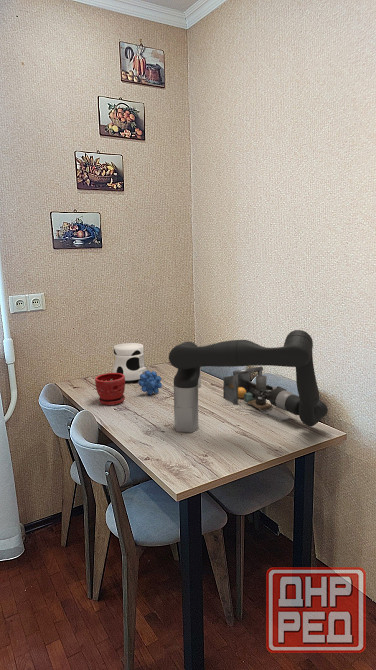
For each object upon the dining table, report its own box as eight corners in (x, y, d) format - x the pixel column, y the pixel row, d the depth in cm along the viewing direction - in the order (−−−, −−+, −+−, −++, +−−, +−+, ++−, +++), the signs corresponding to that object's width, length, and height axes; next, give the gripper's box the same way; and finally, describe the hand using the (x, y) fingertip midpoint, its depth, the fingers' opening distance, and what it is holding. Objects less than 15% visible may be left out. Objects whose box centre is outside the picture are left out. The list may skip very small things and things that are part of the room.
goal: (262, 399, 205) (263, 367, 202) (235, 404, 198) (235, 371, 195) (249, 392, 213) (249, 362, 210) (222, 398, 206) (222, 366, 203)
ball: (240, 400, 208) (246, 400, 204) (231, 395, 207) (237, 394, 202) (243, 390, 210) (250, 390, 206) (235, 385, 208) (241, 384, 204)
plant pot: (112, 395, 212) (111, 370, 210) (131, 401, 204) (130, 375, 202) (90, 402, 203) (88, 377, 200) (109, 409, 194) (108, 382, 192)
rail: (291, 419, 181) (291, 417, 181) (281, 421, 179) (281, 419, 178) (268, 408, 193) (269, 406, 193) (259, 410, 191) (259, 409, 190)
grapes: (142, 399, 206) (141, 374, 204) (137, 395, 212) (136, 370, 210) (165, 395, 211) (165, 370, 209) (160, 391, 217) (159, 367, 215)
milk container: (111, 376, 243) (109, 343, 240) (142, 373, 248) (141, 341, 245) (115, 385, 227) (114, 350, 223) (149, 382, 232) (148, 348, 228)
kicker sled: (272, 407, 192) (272, 378, 189) (260, 409, 189) (261, 380, 186) (254, 398, 202) (255, 371, 199) (244, 401, 199) (244, 373, 197)
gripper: (297, 387, 182) (271, 377, 196) (269, 393, 176) (245, 383, 190) (297, 405, 184) (271, 394, 198) (269, 412, 177) (244, 400, 191)
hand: (258, 388), depth 194 cm, fingers open, 8 cm apart
